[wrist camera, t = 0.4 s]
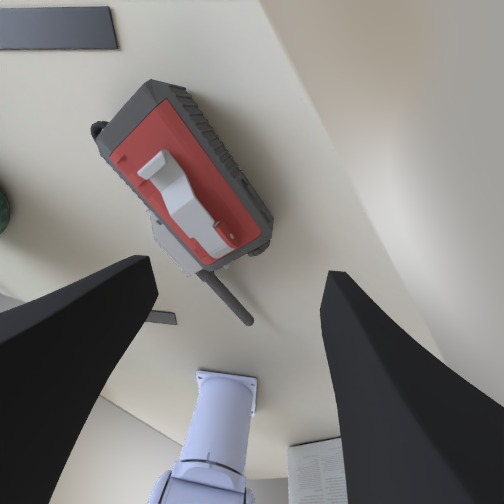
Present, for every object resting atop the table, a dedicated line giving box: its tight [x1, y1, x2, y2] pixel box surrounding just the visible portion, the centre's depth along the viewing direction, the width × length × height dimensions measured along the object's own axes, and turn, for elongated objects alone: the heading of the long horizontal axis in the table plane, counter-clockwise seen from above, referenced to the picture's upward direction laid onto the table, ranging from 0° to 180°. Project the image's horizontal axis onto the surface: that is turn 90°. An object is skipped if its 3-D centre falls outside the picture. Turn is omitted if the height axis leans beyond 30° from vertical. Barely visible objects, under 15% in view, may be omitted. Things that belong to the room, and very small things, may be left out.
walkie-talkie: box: [91, 79, 273, 326], centre depth 17 cm, size 9×4×20 cm
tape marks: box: [0, 6, 177, 325], centre depth 20 cm, size 26×9×1 cm, turn 179°
